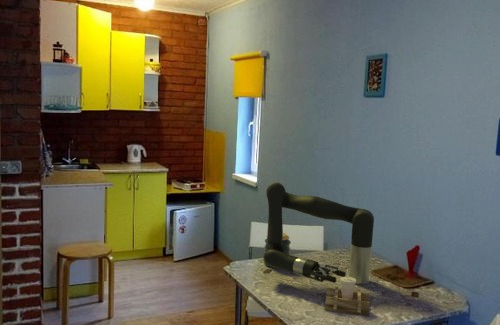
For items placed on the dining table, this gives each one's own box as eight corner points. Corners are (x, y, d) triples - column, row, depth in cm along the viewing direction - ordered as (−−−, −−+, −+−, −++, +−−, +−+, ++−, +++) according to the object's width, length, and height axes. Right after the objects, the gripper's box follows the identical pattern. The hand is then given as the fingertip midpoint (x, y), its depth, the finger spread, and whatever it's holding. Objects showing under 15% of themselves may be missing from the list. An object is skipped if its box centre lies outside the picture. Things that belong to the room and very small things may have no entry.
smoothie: (343, 297, 200) (345, 265, 198) (357, 302, 196) (360, 269, 194) (335, 302, 195) (338, 268, 193) (349, 306, 191) (352, 272, 189)
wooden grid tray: (326, 293, 205) (327, 284, 205) (367, 299, 202) (368, 290, 202) (324, 310, 189) (325, 300, 188) (369, 316, 186) (370, 306, 185)
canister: (290, 269, 234) (292, 234, 232) (263, 267, 234) (265, 232, 232) (288, 260, 247) (290, 227, 244) (263, 259, 247) (265, 225, 245)
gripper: (298, 263, 200) (333, 273, 190) (314, 255, 211) (348, 264, 202) (296, 280, 201) (332, 291, 191) (313, 272, 212) (347, 281, 202)
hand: (340, 277), depth 196 cm, fingers open, 8 cm apart
